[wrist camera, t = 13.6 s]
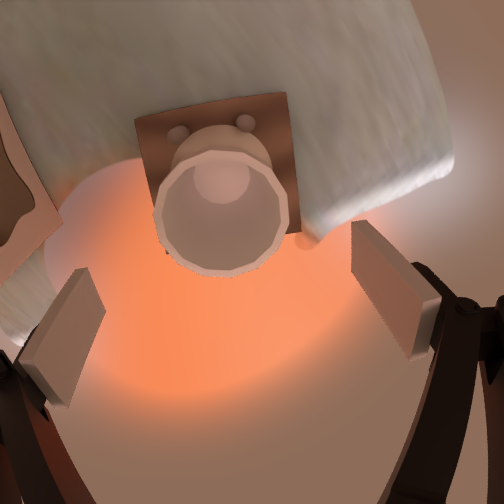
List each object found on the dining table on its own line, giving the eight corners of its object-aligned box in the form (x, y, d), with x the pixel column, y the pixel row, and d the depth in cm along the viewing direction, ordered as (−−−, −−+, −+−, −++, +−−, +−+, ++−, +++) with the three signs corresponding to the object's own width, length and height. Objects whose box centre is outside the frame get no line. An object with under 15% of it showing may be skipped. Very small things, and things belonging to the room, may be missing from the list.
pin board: (137, 118, 31) (119, 122, 25) (283, 92, 31) (296, 90, 26) (168, 248, 38) (159, 275, 33) (298, 226, 39) (312, 250, 33)
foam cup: (220, 114, 31) (219, 120, 19) (283, 173, 34) (316, 214, 22) (160, 180, 33) (128, 224, 21) (223, 233, 36) (224, 299, 25)
